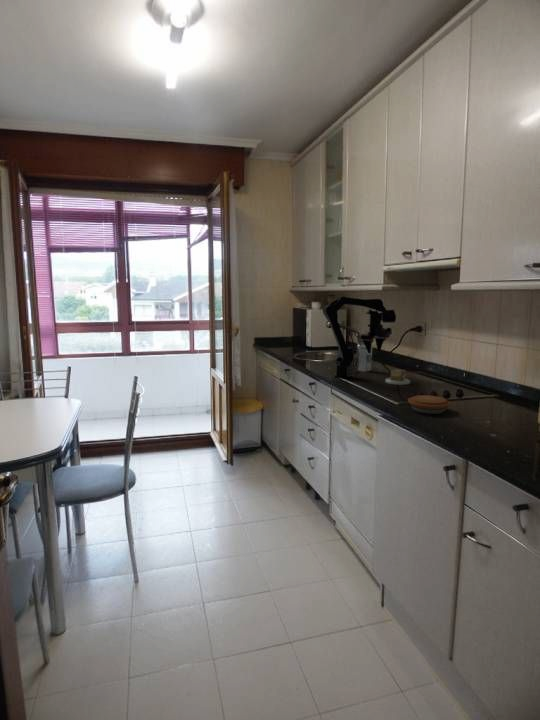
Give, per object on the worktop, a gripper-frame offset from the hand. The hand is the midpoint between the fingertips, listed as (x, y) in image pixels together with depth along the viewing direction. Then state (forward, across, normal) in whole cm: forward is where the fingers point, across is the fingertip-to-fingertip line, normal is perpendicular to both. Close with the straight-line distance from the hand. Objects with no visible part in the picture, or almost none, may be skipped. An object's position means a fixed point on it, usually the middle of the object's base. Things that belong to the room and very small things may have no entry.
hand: (374, 352), depth 239 cm
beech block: (+12, -6, -18) cm, 22 cm away
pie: (+13, -44, -53) cm, 71 cm away
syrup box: (+13, +10, +12) cm, 21 cm away
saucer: (+13, -6, -18) cm, 23 cm away
